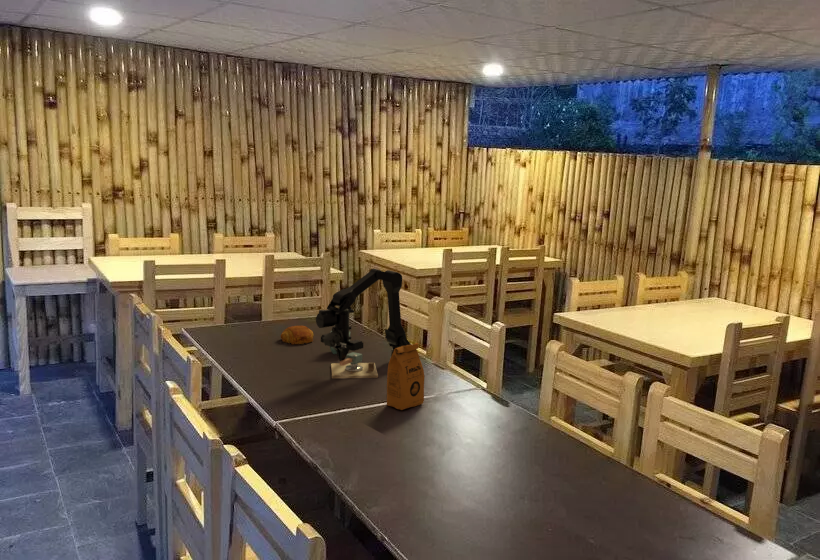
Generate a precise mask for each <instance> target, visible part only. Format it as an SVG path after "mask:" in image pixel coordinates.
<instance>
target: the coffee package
mask: <svg viewBox="0 0 820 560" xmlns="http://www.w3.org/2000/svg"><path fill="white" fill-rule="evenodd" d="M419 347H420V346H419V343H418V342H417V343H411V345H406V346H401V347H398V348H395V349H394V352H393V354H392V356H391V355H390V358H389V361H388V365H387V374H386V375H387V377H386V405H387V406H388V407H393V408H395V410H396V409H397V410H400V411H403V410H406V409H409V408H414V407H418V406H420V405H423V403H424V402H425V370H424V367H423V363H422V361H421V359H420V355H419V352H418V349H419Z"/></svg>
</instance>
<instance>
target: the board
mask: <svg viewBox="0 0 820 560" xmlns="http://www.w3.org/2000/svg"><path fill="white" fill-rule="evenodd" d="M373 363H374V371H368V364H369V362H359V363H358V365H360V366H362V367H363V370H362V371H359V372H349V371H346V370H345V367H346V366H348V365H350V363H348V364H346V365H344V366H341V365H340V362H337V363H334V362H333V363H331V364H330V367H331V379H370V378H371V379H376V378H379V374H378V371H377V367H376V363H375V362H373Z"/></svg>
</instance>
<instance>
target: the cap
mask: <svg viewBox="0 0 820 560" xmlns="http://www.w3.org/2000/svg"><path fill="white" fill-rule="evenodd" d="M363 357H364V355H363V353H359V352H354V351H351V352H348V354H347V356H346V358H345V360H342V361H339V363H340V365H341V366H344V365H346V364H348V363H353V364H357V363H363Z"/></svg>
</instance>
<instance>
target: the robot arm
mask: <svg viewBox="0 0 820 560" xmlns="http://www.w3.org/2000/svg"><path fill="white" fill-rule="evenodd" d="M379 280H380V281H381V282H382V285H383V288H384V290H385V291H386V294H387V296H386V297H387V307H388V310H387V311H388V319H389V321H388V322H389V325H388V328H387V329H386V328H385V329H384V332H385V336H384V338H385V340H386V341H387V343H388V345H389V347H391V350H390V357H391V356H392V354H393V352H394V349H395V348H398V347H401V346H406V345H411V344H412V343H411V342H410V341H409V340H408V339H407V335H406V331H405V329H404V327H403V326H402V316H401V315H402V314H401V305H400V304H401V303H400V300H401V299H400V291H401V289H402V286H403V275H402V274H401V273H400V272H397V271H394V270H391V269H388V270H385V271H382V270H380V269H377V268H372V269H370V270H369V272H368V273H365V274H364V276H362V277H360V278H359V279H358V280H357V281H355V282H354V283H353V284H351V285H350V286H348V287H347V288H346V287H345V288H342V289H340V290H338V291H336V292H335V293H334V294H333V295H332V298H331V300H330V302H329V304H328V305H327V307H326V309H319V310H318V313H317V314H316V317H315V323H316V325H317V327H318V328H319V329H324V328H327V327H328V328H329V327H332V328H331V331H332V332H331V331H330V332H328V333H324V334H322V335H321V336H320V342H321V343H323V344H324V345H325V346H327V347H329V348H330V347H333V348H334V349H335V350H336V352H337V354H336V355H337V357H338V360H339V362H340V361H342V360H345V359H346V356H347V354H349V353H350V351H351V352H354V351H358V350H362V349H364V342H363V340H359V339H353V340H352V336H351V335H350V336H349V331H350V330H352V326H351V325H350V314H352V313H355V310H354V309H352V307H351V306H352V305H353V304H354V303H355V301H357V300H356V299H357V297H359V295H361V294H362V293H363V292H365V291H366V290H368V289H369V288H370V287H372V285H374V284H375V283H376V282H378V281H379ZM349 340H350V341H349Z"/></svg>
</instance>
